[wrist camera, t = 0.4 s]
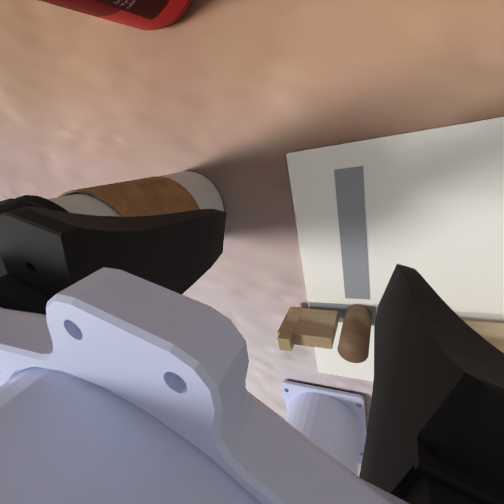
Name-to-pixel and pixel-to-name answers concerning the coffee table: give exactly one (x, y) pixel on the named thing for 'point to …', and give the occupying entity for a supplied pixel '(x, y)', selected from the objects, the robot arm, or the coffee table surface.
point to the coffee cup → (130, 198)
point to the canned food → (130, 11)
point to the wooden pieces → (328, 330)
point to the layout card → (402, 223)
